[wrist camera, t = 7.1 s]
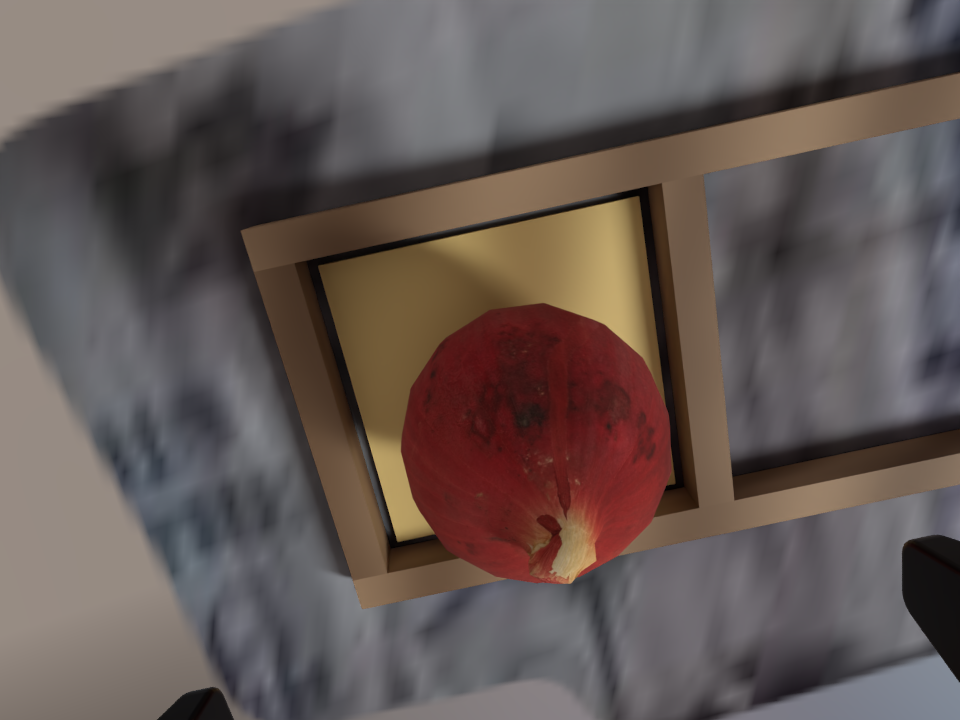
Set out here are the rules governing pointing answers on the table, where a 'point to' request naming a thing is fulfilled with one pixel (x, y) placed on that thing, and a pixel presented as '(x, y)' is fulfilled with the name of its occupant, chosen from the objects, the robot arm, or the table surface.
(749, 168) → the table surface
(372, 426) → the wooden divided frame
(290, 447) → the table surface
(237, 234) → the table surface
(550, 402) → the red pomegranate
